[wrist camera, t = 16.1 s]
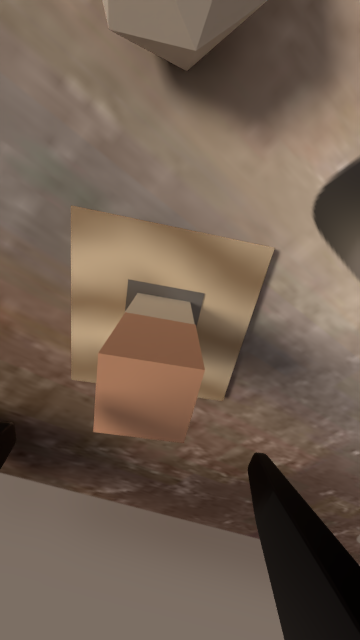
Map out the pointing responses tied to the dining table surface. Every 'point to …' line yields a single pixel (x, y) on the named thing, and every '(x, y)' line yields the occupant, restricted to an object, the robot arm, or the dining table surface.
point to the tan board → (161, 286)
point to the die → (178, 25)
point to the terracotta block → (148, 379)
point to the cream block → (161, 308)
